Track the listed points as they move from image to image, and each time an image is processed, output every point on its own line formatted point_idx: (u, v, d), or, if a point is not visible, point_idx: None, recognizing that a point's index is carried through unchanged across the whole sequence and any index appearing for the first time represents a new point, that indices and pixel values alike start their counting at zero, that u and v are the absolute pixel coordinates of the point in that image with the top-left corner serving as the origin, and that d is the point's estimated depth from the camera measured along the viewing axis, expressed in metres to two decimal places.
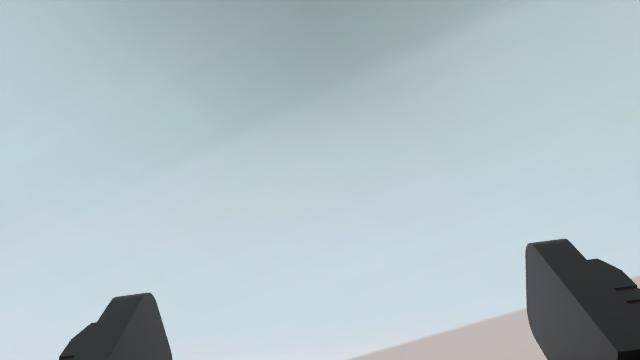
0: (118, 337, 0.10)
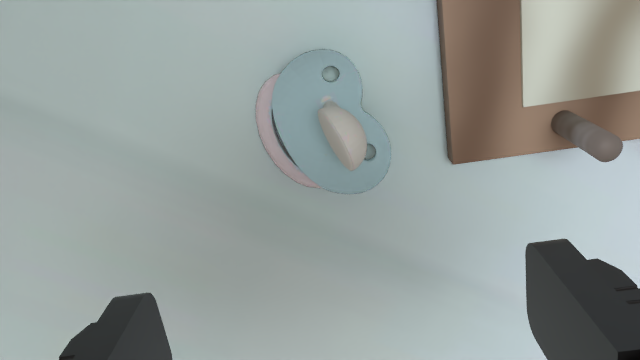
0: (118, 337, 0.10)
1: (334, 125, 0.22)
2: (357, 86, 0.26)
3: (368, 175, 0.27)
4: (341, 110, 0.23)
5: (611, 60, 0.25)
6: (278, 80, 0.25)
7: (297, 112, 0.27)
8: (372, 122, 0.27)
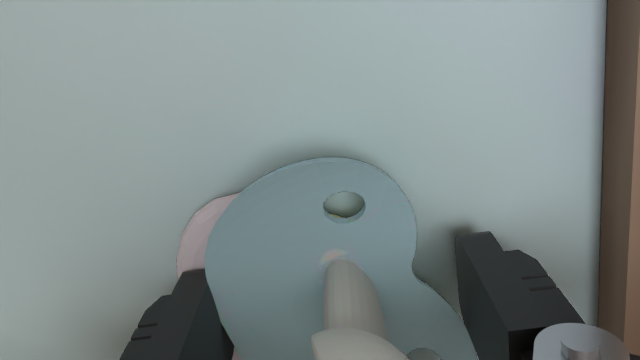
0: (197, 306, 0.10)
1: None
2: (407, 231, 0.11)
3: None
4: None
5: None
6: (217, 228, 0.10)
7: (267, 284, 0.12)
8: (438, 305, 0.12)
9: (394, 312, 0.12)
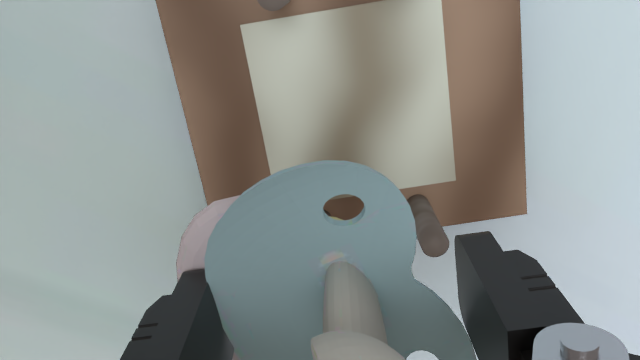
0: (197, 305, 0.10)
1: None
2: (406, 234, 0.11)
3: None
4: None
5: None
6: (217, 231, 0.10)
7: (267, 286, 0.12)
8: (437, 307, 0.12)
9: (394, 314, 0.12)
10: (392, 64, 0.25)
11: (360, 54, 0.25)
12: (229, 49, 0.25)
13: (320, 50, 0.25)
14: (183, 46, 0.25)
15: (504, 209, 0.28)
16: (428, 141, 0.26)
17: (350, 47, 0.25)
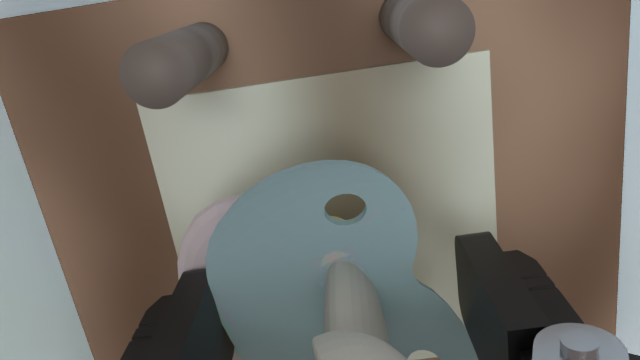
0: (197, 305, 0.10)
1: None
2: (408, 234, 0.11)
3: None
4: None
5: None
6: (218, 230, 0.10)
7: (268, 286, 0.12)
8: (438, 307, 0.12)
9: (395, 314, 0.12)
10: (401, 171, 0.14)
11: (346, 154, 0.14)
12: (121, 141, 0.14)
13: (276, 146, 0.14)
14: (42, 135, 0.14)
15: None
16: None
17: (329, 142, 0.14)
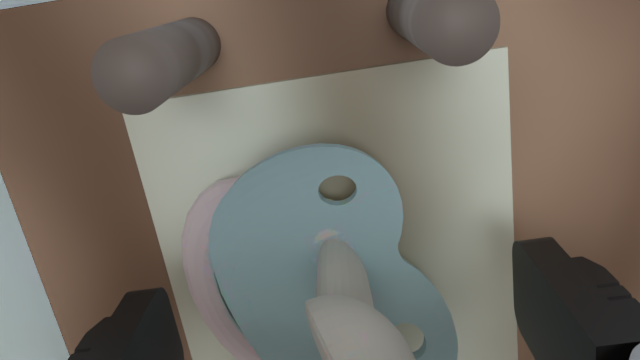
0: (133, 330, 0.10)
1: None
2: (394, 214, 0.12)
3: None
4: (364, 324, 0.09)
5: None
6: (221, 206, 0.11)
7: (265, 260, 0.13)
8: (421, 283, 0.13)
9: (381, 289, 0.13)
10: (410, 179, 0.13)
11: None
12: (105, 148, 0.13)
13: (274, 153, 0.13)
14: (19, 141, 0.13)
15: None
16: (471, 309, 0.15)
17: None
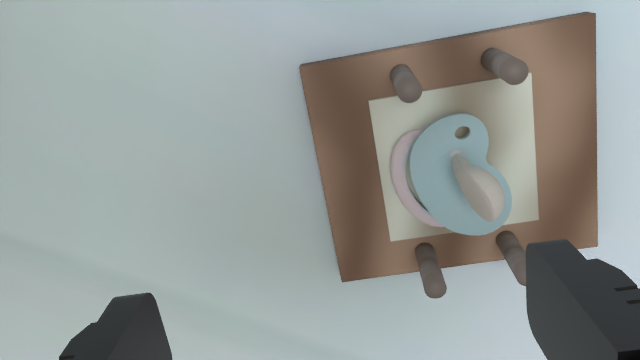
0: (118, 337, 0.10)
1: (481, 186, 0.26)
2: (484, 142, 0.30)
3: None
4: (484, 171, 0.27)
5: None
6: (418, 139, 0.29)
7: (429, 164, 0.31)
8: (495, 173, 0.31)
9: None
10: (489, 129, 0.31)
11: None
12: (358, 119, 0.31)
13: (431, 119, 0.31)
14: (322, 117, 0.31)
15: (578, 242, 0.33)
16: (516, 189, 0.32)
17: None
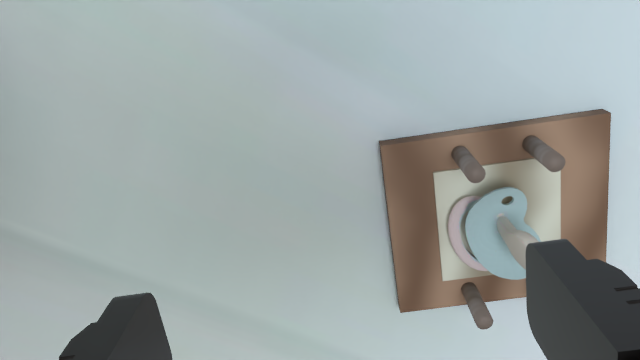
0: (118, 337, 0.10)
1: None
2: (524, 208, 0.39)
3: None
4: (529, 235, 0.35)
5: None
6: (474, 205, 0.38)
7: (480, 223, 0.39)
8: (530, 231, 0.39)
9: None
10: (526, 196, 0.39)
11: None
12: (423, 186, 0.39)
13: (481, 187, 0.39)
14: (395, 183, 0.39)
15: None
16: None
17: (500, 186, 0.39)
